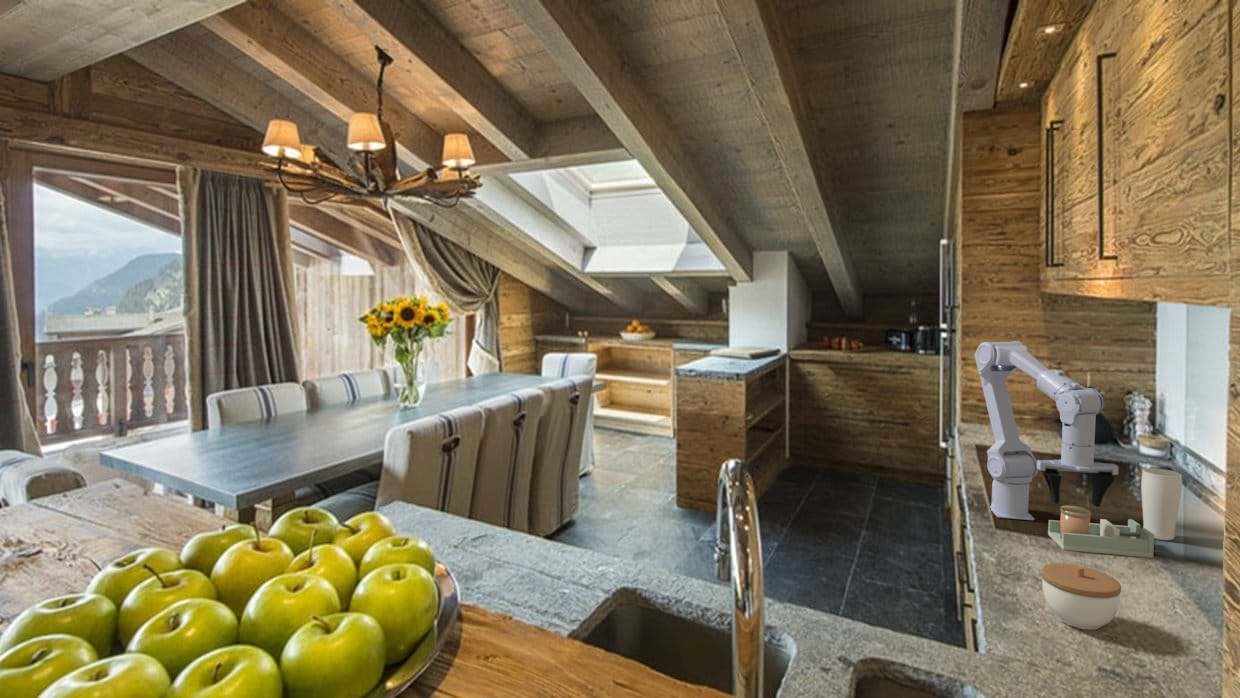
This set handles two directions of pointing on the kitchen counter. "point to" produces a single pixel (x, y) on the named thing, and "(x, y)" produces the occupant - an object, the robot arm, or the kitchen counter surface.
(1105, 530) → the pusher
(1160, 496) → the drinking glass
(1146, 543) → the pale green shallow tray
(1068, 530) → the jar
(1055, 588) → the lidded jar
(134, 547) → the kitchen counter surface
